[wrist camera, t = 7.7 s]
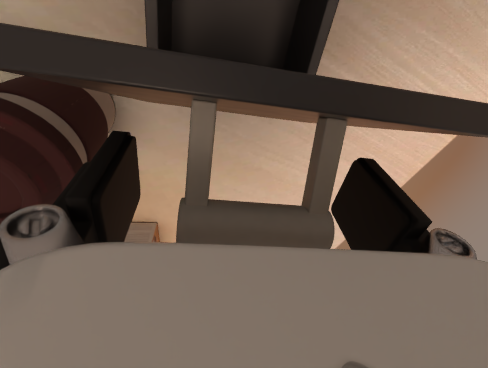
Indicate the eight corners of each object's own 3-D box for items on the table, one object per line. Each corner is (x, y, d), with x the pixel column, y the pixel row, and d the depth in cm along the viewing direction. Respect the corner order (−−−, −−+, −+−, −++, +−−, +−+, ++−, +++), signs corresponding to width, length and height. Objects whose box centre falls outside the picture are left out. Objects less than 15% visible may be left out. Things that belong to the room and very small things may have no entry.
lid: (-36, 15, 5) (-2, 280, 6) (525, 108, 7) (458, 287, 8) (147, 90, 19) (145, 161, 21) (305, 112, 21) (294, 175, 23)
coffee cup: (124, 155, 31) (68, 256, 19) (29, 131, 28) (-106, 232, 16) (135, 73, 26) (67, 144, 14) (19, 34, 23) (-190, 80, 11)
